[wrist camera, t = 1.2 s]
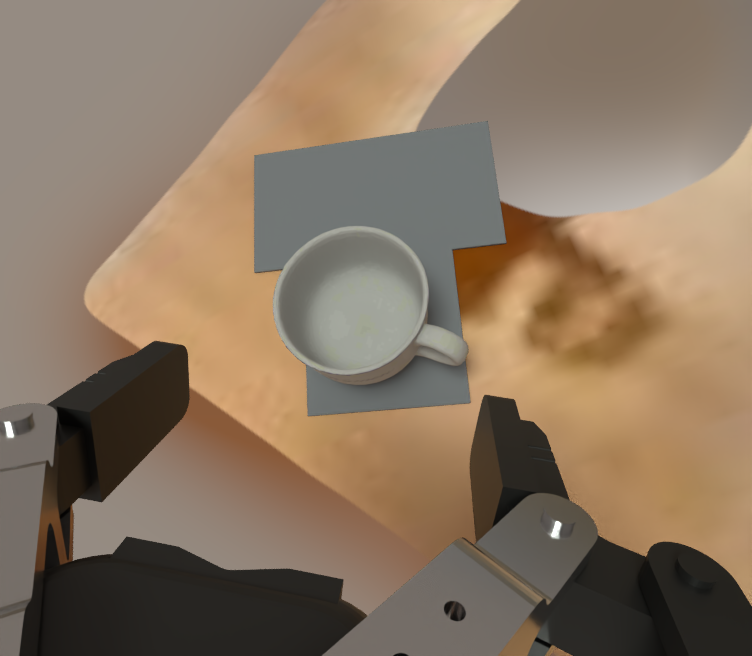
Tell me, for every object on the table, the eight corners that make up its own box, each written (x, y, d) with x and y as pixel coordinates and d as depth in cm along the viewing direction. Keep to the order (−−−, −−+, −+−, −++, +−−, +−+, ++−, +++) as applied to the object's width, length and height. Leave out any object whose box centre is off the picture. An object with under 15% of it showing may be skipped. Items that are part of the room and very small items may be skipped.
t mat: (487, 122, 42) (487, 121, 42) (529, 398, 36) (529, 398, 36) (255, 156, 45) (254, 155, 45) (255, 420, 39) (254, 420, 38)
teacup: (279, 340, 40) (240, 314, 32) (356, 242, 41) (337, 194, 33) (410, 442, 36) (402, 441, 29) (491, 332, 37) (504, 302, 30)
